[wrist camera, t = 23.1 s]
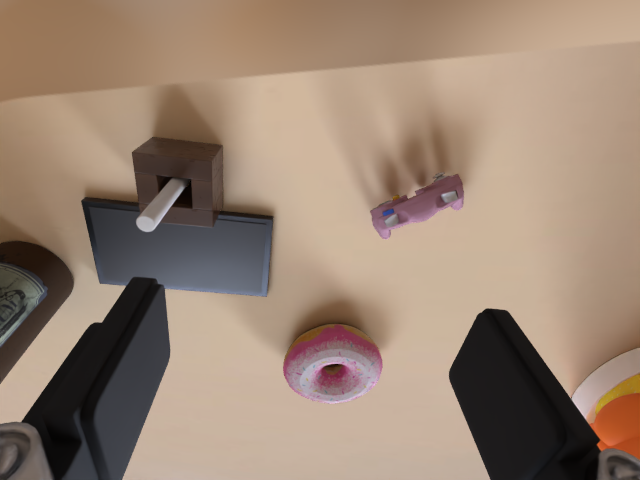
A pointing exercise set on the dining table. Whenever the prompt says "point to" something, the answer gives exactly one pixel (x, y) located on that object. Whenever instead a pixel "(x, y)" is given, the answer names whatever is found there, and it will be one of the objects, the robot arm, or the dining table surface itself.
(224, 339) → the dining table surface
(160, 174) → the pen holder
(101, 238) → the tablet
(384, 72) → the dining table surface
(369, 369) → the donut
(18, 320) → the rum bottle
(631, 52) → the dining table surface
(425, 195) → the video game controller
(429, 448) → the dining table surface
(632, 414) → the potted cactus
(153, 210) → the stylus
